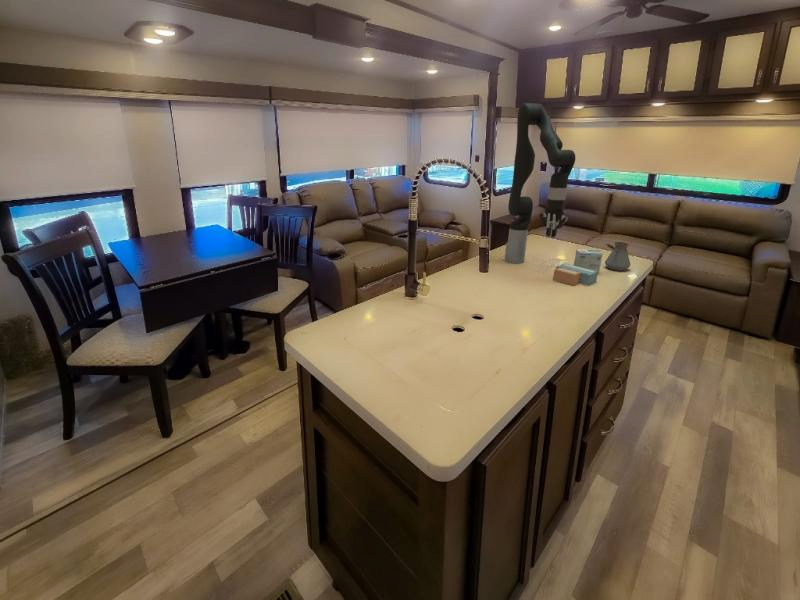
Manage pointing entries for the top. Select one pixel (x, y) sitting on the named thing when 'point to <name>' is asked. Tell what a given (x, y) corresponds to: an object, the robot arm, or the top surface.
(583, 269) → the blue labelled box
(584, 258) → the light bulb box
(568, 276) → the orange labelled box
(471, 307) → the top surface
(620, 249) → the coffee pot
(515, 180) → the robot arm
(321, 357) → the top surface
